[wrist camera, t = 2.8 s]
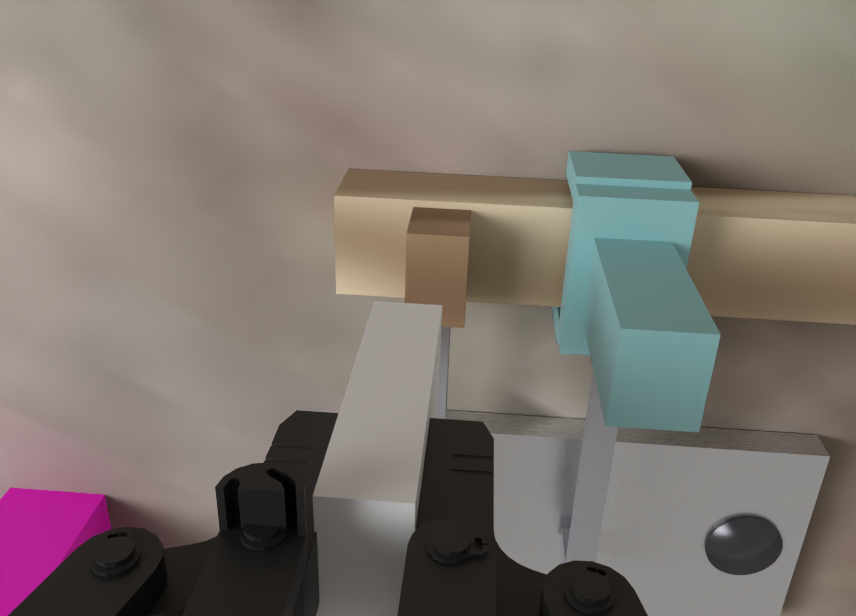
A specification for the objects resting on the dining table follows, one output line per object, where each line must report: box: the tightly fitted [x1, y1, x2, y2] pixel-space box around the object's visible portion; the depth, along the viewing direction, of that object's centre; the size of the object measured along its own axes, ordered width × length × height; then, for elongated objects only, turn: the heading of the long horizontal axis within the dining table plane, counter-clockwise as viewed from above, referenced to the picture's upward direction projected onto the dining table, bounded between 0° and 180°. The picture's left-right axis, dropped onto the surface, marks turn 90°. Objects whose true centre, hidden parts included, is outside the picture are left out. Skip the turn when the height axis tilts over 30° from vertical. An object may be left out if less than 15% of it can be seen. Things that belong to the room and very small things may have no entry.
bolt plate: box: [446, 410, 830, 616], centre depth 29 cm, size 8×16×1 cm, turn 88°
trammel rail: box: [334, 169, 856, 419], centre depth 25 cm, size 13×16×4 cm
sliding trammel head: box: [552, 151, 721, 564], centre depth 23 cm, size 14×3×8 cm, turn 178°
